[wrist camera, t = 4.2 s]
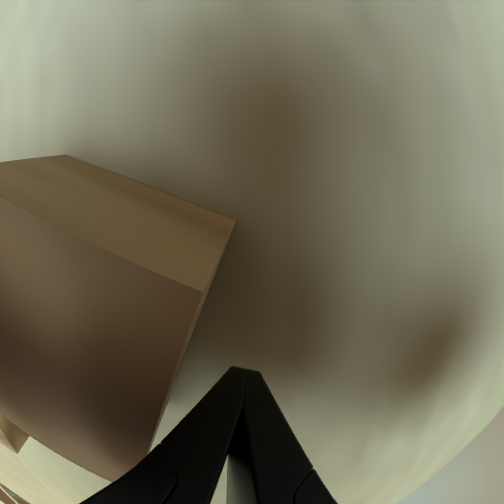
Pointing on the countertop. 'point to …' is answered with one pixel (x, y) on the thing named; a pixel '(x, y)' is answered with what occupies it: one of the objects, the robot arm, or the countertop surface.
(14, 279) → the block
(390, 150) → the countertop surface
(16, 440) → the tan rectangular bar
